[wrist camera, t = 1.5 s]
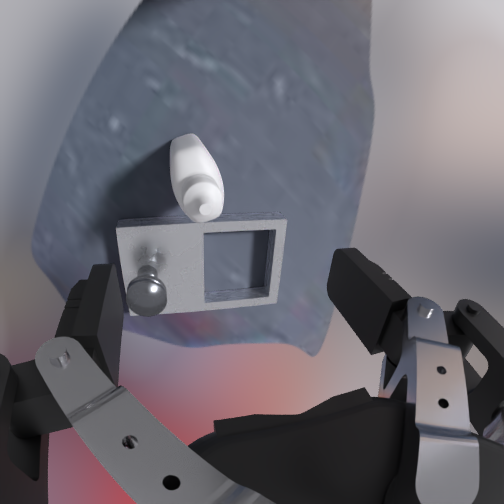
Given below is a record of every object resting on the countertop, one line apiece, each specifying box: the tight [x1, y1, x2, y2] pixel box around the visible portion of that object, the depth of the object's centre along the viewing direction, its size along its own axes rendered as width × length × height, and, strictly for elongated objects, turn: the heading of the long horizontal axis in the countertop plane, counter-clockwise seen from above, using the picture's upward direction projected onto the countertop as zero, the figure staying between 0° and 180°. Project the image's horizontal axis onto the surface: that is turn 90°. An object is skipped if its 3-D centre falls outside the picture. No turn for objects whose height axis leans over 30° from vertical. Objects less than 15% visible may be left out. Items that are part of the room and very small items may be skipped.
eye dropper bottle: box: [170, 134, 224, 223], centre depth 22 cm, size 4×6×12 cm
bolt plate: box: [116, 212, 287, 317], centre depth 29 cm, size 10×16×6 cm, turn 86°
